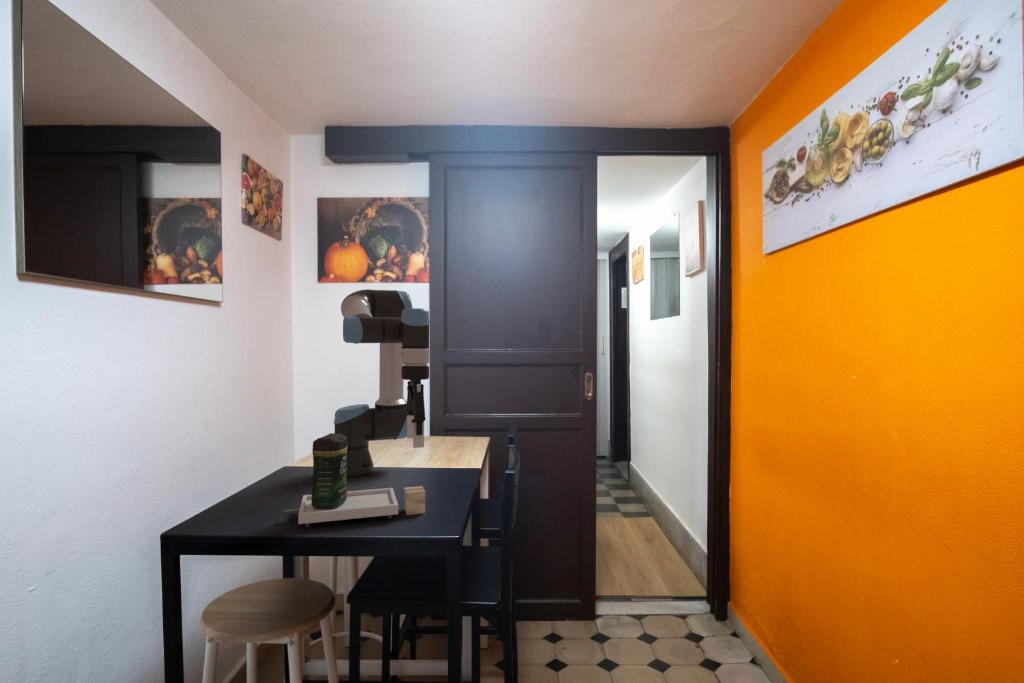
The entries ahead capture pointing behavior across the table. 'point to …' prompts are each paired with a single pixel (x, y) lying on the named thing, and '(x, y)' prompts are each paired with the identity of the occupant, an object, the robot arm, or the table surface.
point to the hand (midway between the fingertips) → (415, 442)
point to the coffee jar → (329, 471)
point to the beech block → (414, 500)
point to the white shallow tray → (349, 507)
